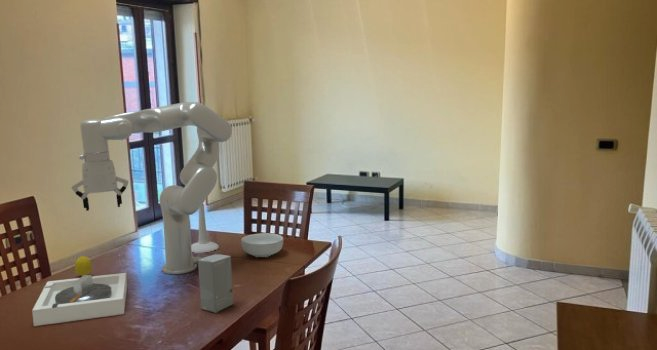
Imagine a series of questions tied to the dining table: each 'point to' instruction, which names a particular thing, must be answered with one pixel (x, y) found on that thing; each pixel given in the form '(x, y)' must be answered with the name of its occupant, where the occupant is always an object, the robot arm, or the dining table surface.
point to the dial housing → (57, 313)
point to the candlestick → (203, 236)
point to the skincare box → (215, 282)
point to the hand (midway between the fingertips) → (103, 208)
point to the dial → (83, 291)
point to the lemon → (83, 266)
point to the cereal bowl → (262, 244)
